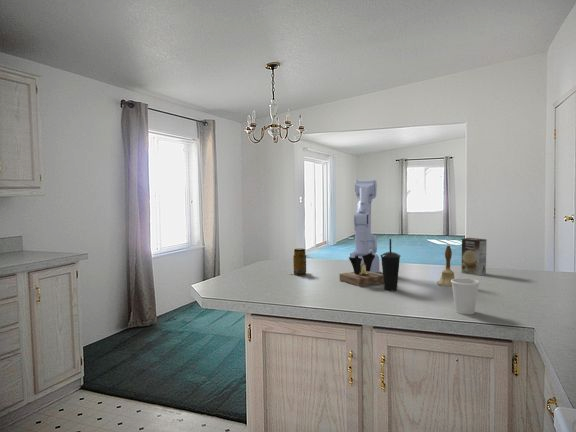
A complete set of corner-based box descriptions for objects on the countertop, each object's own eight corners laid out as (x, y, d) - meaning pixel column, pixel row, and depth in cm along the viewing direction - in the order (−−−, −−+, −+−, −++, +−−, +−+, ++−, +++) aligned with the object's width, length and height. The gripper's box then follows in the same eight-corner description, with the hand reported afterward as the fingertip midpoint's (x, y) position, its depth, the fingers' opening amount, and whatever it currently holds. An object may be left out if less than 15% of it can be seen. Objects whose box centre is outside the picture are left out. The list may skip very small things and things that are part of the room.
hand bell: (459, 283, 178) (459, 244, 177) (457, 287, 170) (458, 247, 169) (438, 281, 181) (438, 244, 180) (436, 285, 174) (436, 246, 173)
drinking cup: (401, 288, 170) (401, 238, 169) (399, 292, 163) (399, 240, 162) (381, 286, 173) (381, 237, 172) (379, 291, 166) (379, 239, 165)
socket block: (365, 277, 193) (365, 270, 193) (385, 282, 181) (385, 275, 181) (339, 280, 187) (339, 273, 187) (359, 286, 175) (359, 279, 174)
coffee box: (460, 272, 200) (460, 238, 199) (468, 271, 203) (468, 237, 202) (478, 275, 192) (479, 240, 191) (486, 273, 196) (487, 239, 195)
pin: (360, 279, 187) (360, 263, 186) (367, 280, 184) (367, 263, 184) (356, 280, 184) (356, 264, 184) (363, 281, 182) (363, 265, 181)
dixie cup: (450, 314, 133) (450, 282, 133) (450, 307, 141) (450, 277, 141) (480, 316, 130) (480, 284, 130) (478, 309, 138) (478, 278, 138)
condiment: (300, 272, 209) (300, 247, 208) (312, 274, 202) (312, 249, 202) (289, 274, 204) (288, 249, 203) (301, 276, 198) (300, 250, 197)
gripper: (364, 238, 191) (364, 269, 192) (344, 242, 181) (344, 273, 182) (377, 240, 186) (377, 270, 187) (357, 243, 176) (358, 275, 177)
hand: (362, 272), depth 184 cm, fingers open, 7 cm apart
